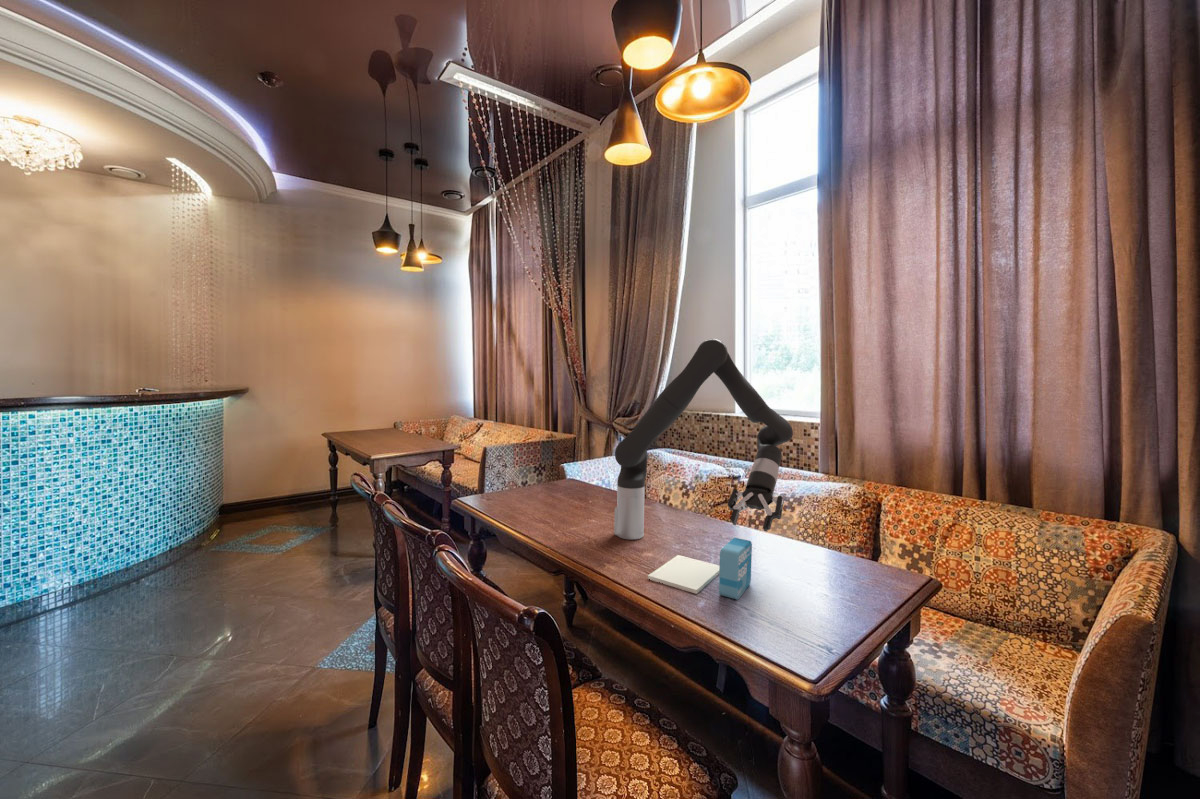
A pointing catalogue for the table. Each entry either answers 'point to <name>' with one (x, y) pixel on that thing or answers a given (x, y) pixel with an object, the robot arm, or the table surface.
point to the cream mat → (685, 573)
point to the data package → (735, 568)
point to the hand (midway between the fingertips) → (749, 526)
